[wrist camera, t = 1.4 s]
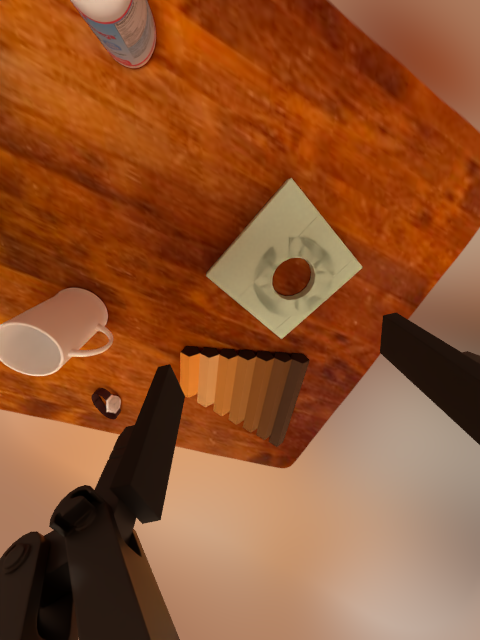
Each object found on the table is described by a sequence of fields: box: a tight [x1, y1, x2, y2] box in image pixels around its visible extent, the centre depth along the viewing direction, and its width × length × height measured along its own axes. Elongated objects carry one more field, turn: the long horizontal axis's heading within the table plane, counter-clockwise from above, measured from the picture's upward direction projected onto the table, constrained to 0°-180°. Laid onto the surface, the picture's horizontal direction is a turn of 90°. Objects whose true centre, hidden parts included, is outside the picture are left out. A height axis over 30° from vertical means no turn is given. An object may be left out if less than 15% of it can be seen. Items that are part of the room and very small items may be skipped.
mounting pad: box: [206, 178, 363, 339], centre depth 36 cm, size 18×18×2 cm
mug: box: [0, 288, 113, 376], centre depth 33 cm, size 12×8×12 cm
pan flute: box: [180, 346, 309, 447], centre depth 48 cm, size 25×3×25 cm
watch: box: [92, 388, 121, 419], centre depth 46 cm, size 8×5×4 cm, turn 12°
